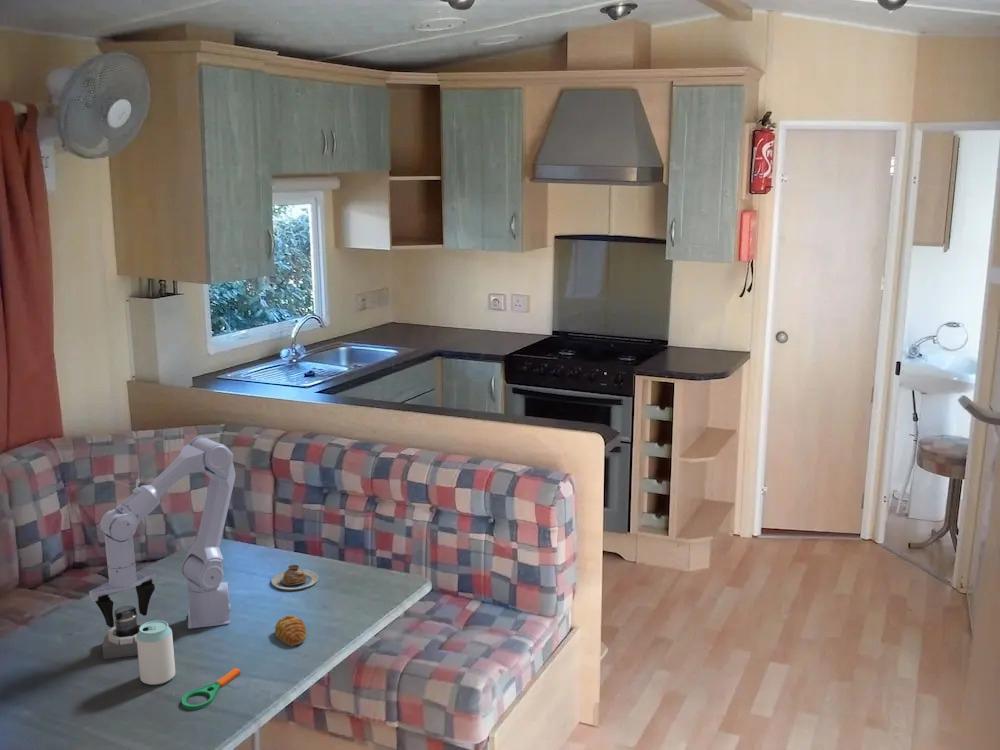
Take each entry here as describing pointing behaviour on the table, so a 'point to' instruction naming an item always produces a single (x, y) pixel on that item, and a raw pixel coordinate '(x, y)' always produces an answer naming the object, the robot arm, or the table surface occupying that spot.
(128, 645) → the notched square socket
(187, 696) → the magnifying glass
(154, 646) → the can
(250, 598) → the table surface
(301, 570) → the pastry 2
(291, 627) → the pastry
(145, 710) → the table surface
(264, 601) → the table surface
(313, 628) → the table surface
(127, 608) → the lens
